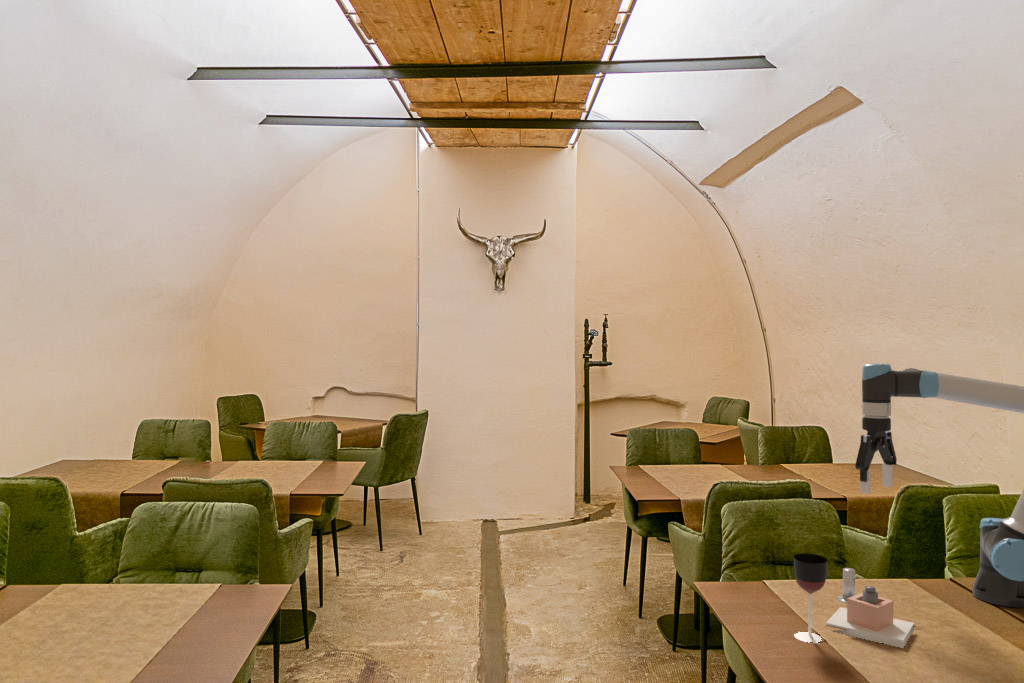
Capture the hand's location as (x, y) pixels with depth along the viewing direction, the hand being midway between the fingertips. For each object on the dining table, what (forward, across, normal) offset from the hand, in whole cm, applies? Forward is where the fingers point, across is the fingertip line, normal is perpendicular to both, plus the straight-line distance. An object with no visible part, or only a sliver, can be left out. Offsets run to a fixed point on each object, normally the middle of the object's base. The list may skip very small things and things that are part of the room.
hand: (876, 489), depth 218 cm
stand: (+31, +13, -2) cm, 34 cm away
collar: (+29, +26, +11) cm, 41 cm away
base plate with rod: (+31, +26, +11) cm, 42 cm away
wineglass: (+31, +42, +3) cm, 53 cm away
